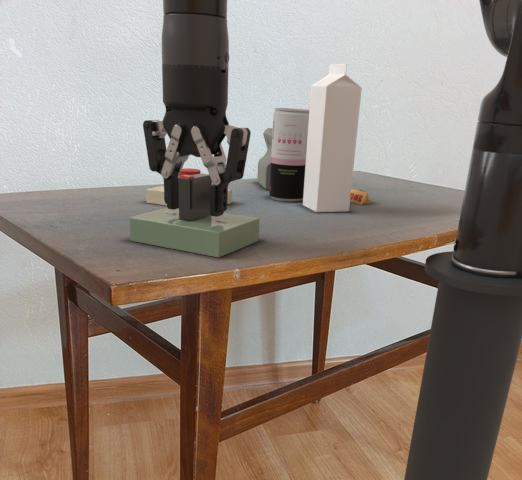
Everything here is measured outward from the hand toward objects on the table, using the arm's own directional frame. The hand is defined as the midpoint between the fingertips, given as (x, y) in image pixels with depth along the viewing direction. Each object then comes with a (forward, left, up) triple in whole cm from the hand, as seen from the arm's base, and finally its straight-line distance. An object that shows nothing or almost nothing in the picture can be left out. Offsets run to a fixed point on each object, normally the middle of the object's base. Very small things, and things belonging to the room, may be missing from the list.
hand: (195, 211), depth 74 cm
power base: (+15, -21, -4) cm, 26 cm away
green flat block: (0, 0, -4) cm, 4 cm away
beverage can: (+4, -36, -4) cm, 36 cm away
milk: (-5, -32, -4) cm, 33 cm away
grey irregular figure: (+11, -48, -4) cm, 49 cm away
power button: (+15, -21, 0) cm, 26 cm away
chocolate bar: (-4, -44, -4) cm, 44 cm away
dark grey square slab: (0, 0, -1) cm, 1 cm away
